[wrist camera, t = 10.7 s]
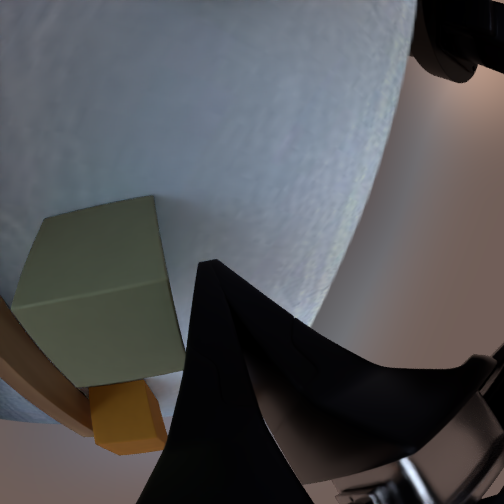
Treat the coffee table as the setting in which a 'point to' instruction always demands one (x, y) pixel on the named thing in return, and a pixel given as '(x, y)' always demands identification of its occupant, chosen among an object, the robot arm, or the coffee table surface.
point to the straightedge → (40, 377)
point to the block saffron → (127, 418)
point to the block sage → (101, 295)
